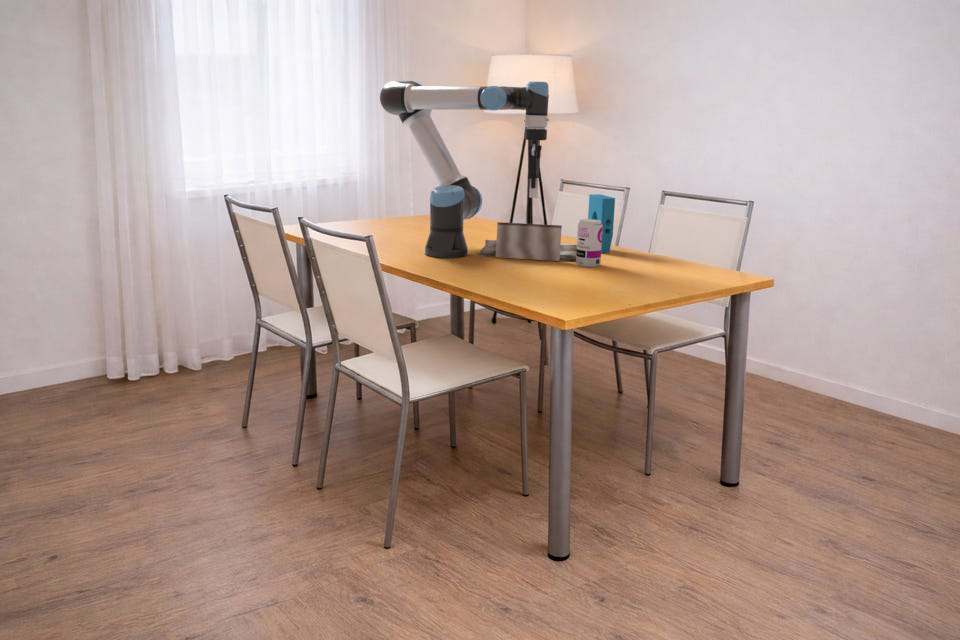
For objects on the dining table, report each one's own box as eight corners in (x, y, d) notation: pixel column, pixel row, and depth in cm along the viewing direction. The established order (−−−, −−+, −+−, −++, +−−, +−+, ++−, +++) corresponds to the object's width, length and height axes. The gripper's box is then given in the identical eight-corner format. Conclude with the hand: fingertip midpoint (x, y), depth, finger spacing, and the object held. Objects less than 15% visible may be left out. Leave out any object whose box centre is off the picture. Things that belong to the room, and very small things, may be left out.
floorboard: (479, 256, 302) (480, 244, 301) (485, 250, 312) (486, 239, 311) (583, 262, 296) (583, 250, 294) (585, 256, 306) (586, 245, 305)
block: (612, 253, 313) (616, 198, 308) (600, 254, 311) (603, 198, 306) (597, 247, 324) (600, 194, 318) (585, 248, 322) (588, 194, 317)
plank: (497, 222, 297) (498, 222, 298) (495, 257, 299) (496, 256, 300) (561, 225, 293) (561, 225, 295) (559, 260, 295) (559, 260, 296)
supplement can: (602, 263, 294) (605, 220, 290) (597, 268, 286) (600, 223, 282) (578, 261, 296) (581, 218, 292) (573, 266, 289) (575, 221, 285)
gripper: (544, 129, 288) (541, 200, 294) (549, 127, 301) (546, 195, 307) (522, 128, 289) (519, 199, 295) (527, 127, 302) (525, 194, 308)
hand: (533, 197), depth 301 cm, fingers closed
